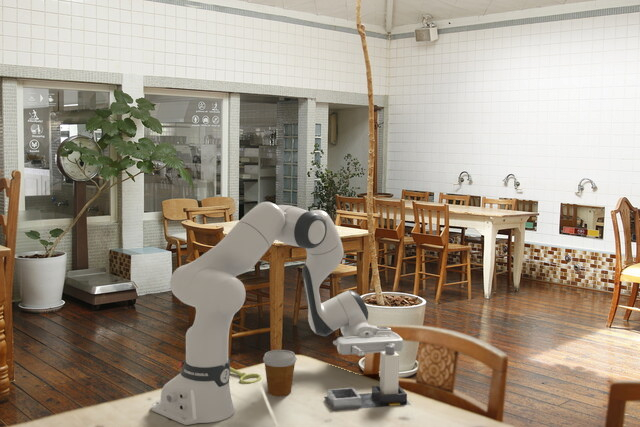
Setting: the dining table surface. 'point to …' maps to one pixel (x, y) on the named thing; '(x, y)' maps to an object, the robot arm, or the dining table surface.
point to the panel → (363, 399)
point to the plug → (389, 371)
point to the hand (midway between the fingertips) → (377, 352)
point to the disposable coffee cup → (279, 371)
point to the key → (246, 376)
